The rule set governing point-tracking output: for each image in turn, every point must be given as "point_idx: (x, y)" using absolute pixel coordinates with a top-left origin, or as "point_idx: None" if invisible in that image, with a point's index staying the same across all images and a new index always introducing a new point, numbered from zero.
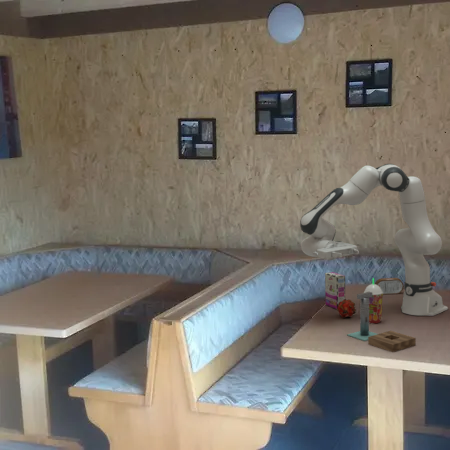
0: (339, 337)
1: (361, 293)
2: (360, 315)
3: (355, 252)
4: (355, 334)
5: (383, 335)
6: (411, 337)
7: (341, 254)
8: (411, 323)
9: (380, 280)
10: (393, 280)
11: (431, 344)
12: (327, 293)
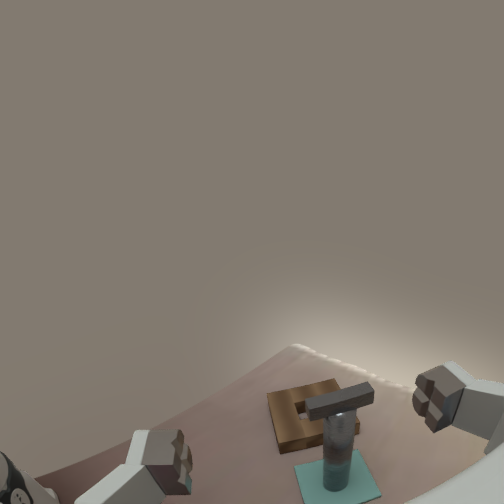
0: (408, 487)
1: (353, 396)
2: (352, 449)
3: (181, 454)
4: (358, 490)
5: (319, 421)
6: (272, 397)
7: (437, 368)
8: None
9: None
10: None
11: (238, 398)
12: None
